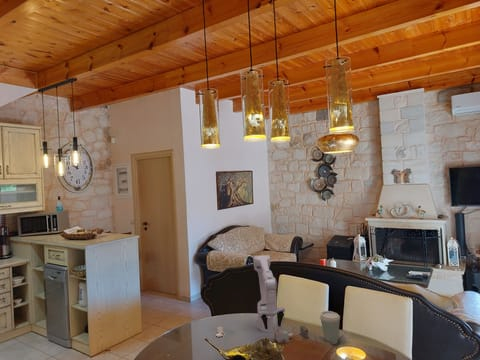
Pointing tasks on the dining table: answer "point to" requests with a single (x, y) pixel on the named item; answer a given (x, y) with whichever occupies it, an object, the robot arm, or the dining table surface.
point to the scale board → (303, 332)
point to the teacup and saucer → (219, 331)
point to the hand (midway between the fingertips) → (272, 327)
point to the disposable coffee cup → (330, 326)
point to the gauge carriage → (282, 336)
